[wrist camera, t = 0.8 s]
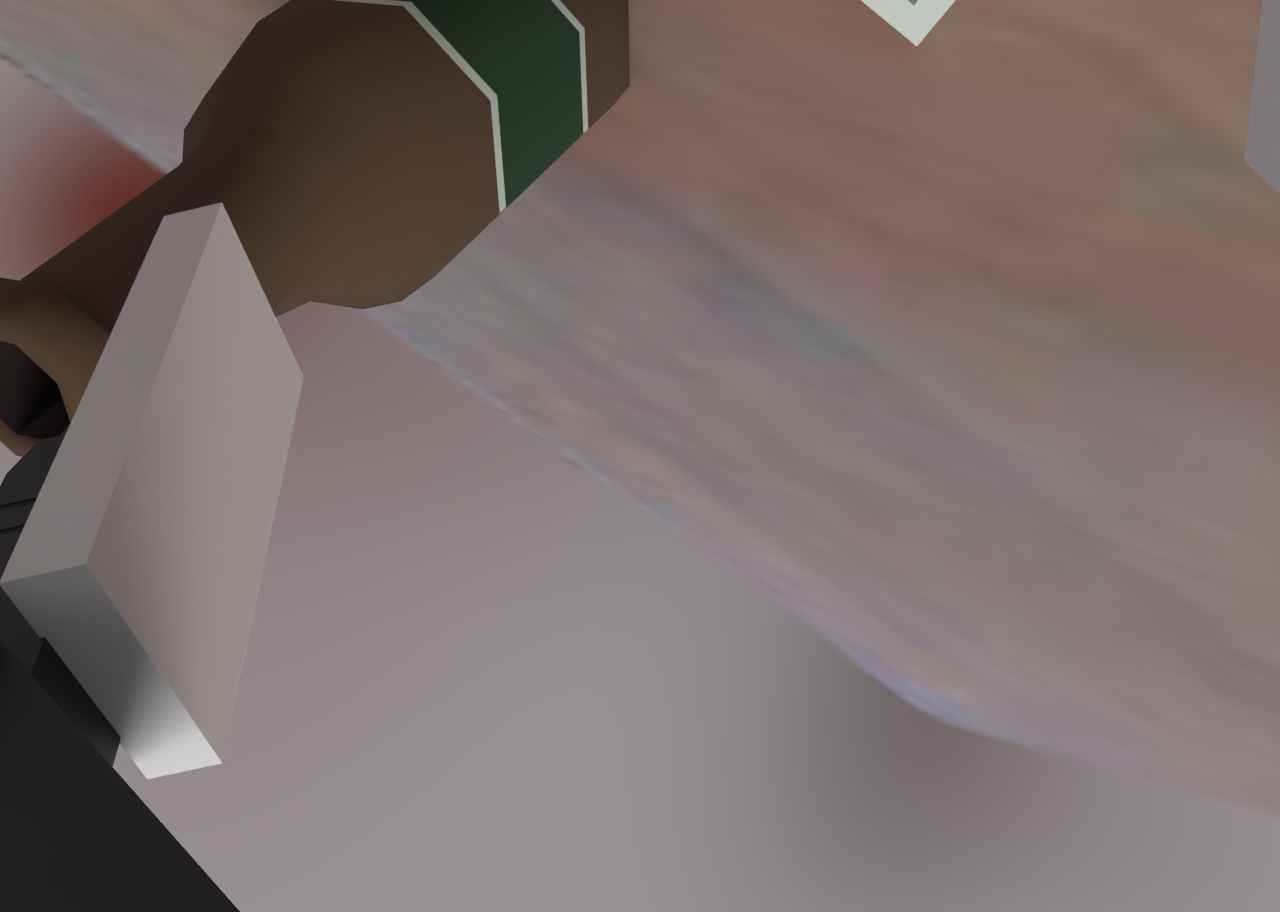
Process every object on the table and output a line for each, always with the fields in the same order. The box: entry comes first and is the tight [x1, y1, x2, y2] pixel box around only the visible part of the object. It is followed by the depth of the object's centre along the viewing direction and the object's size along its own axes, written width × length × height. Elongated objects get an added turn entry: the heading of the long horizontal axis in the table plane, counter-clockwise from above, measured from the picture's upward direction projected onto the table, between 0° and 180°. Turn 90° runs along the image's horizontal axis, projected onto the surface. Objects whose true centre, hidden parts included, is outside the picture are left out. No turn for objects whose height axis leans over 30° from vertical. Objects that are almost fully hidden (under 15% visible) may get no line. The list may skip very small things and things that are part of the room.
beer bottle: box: [0, 0, 630, 457], centre depth 31 cm, size 8×8×24 cm
